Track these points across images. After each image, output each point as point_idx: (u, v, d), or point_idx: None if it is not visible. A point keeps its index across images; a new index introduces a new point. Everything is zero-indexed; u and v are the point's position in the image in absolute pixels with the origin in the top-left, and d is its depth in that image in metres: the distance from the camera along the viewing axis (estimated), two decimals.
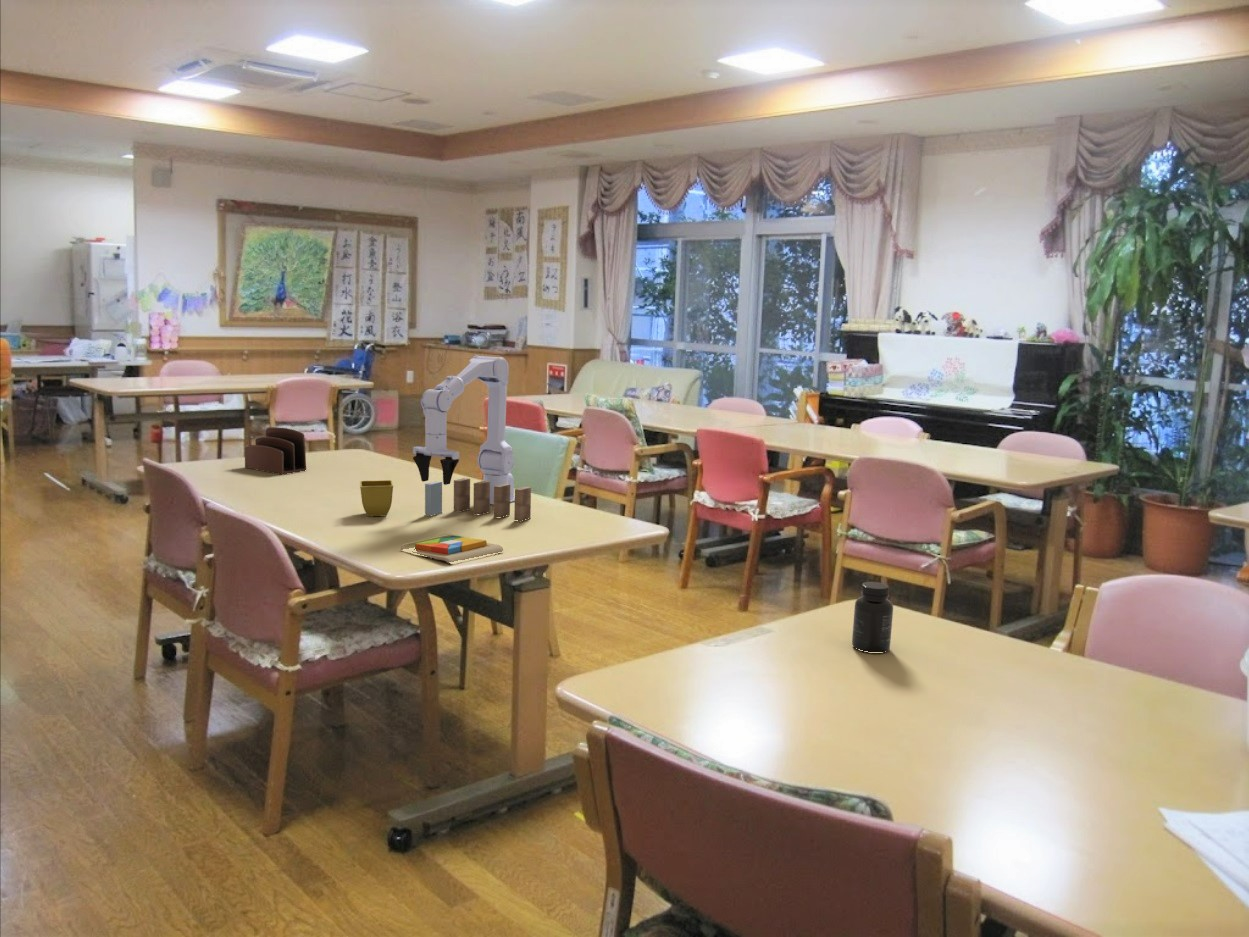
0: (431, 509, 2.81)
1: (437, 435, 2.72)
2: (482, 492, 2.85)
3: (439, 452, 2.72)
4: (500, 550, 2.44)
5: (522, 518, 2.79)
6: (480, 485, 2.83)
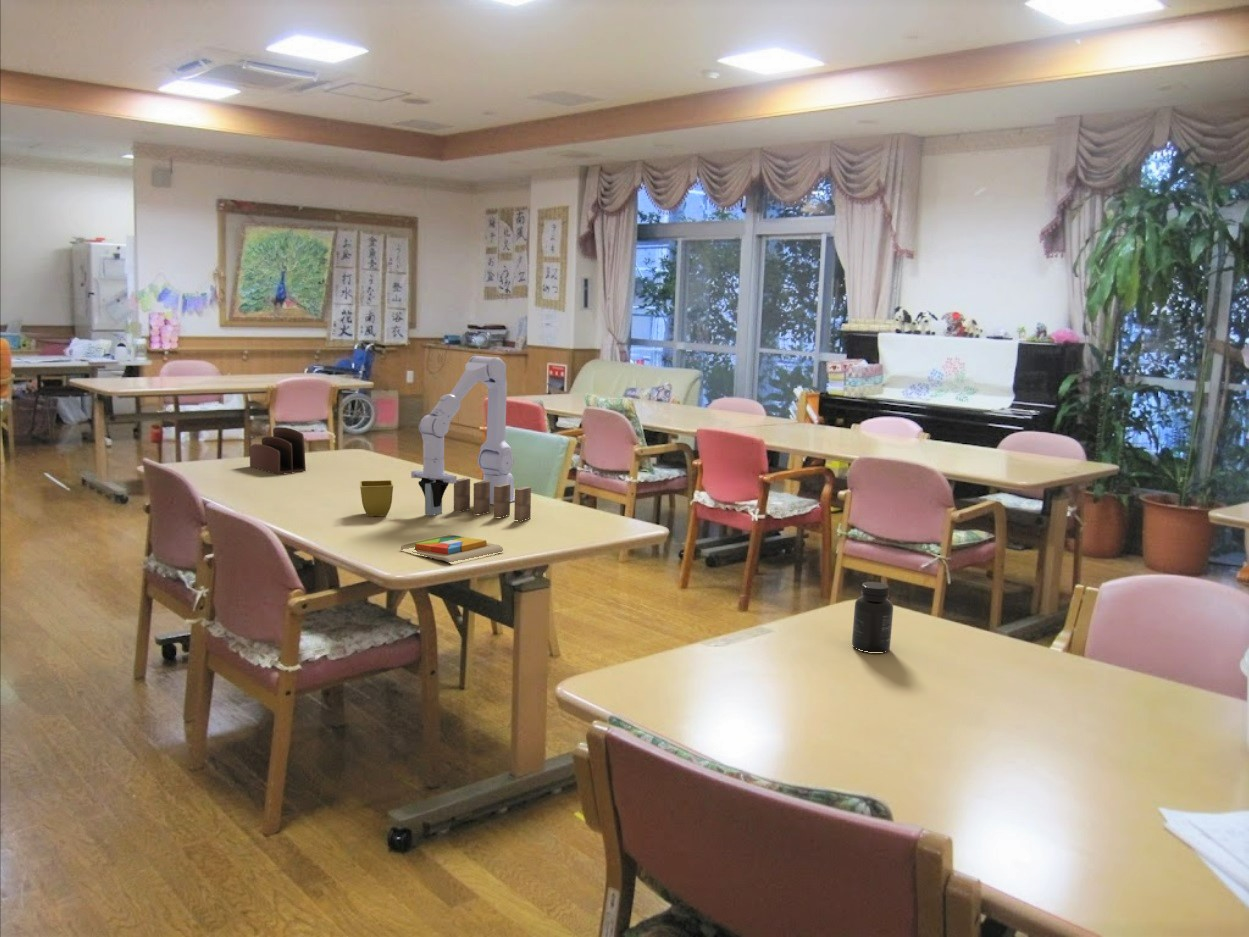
0: (431, 509, 2.81)
1: (435, 460, 2.79)
2: (482, 492, 2.85)
3: (437, 476, 2.79)
4: (500, 550, 2.44)
5: (522, 518, 2.79)
6: (480, 485, 2.83)
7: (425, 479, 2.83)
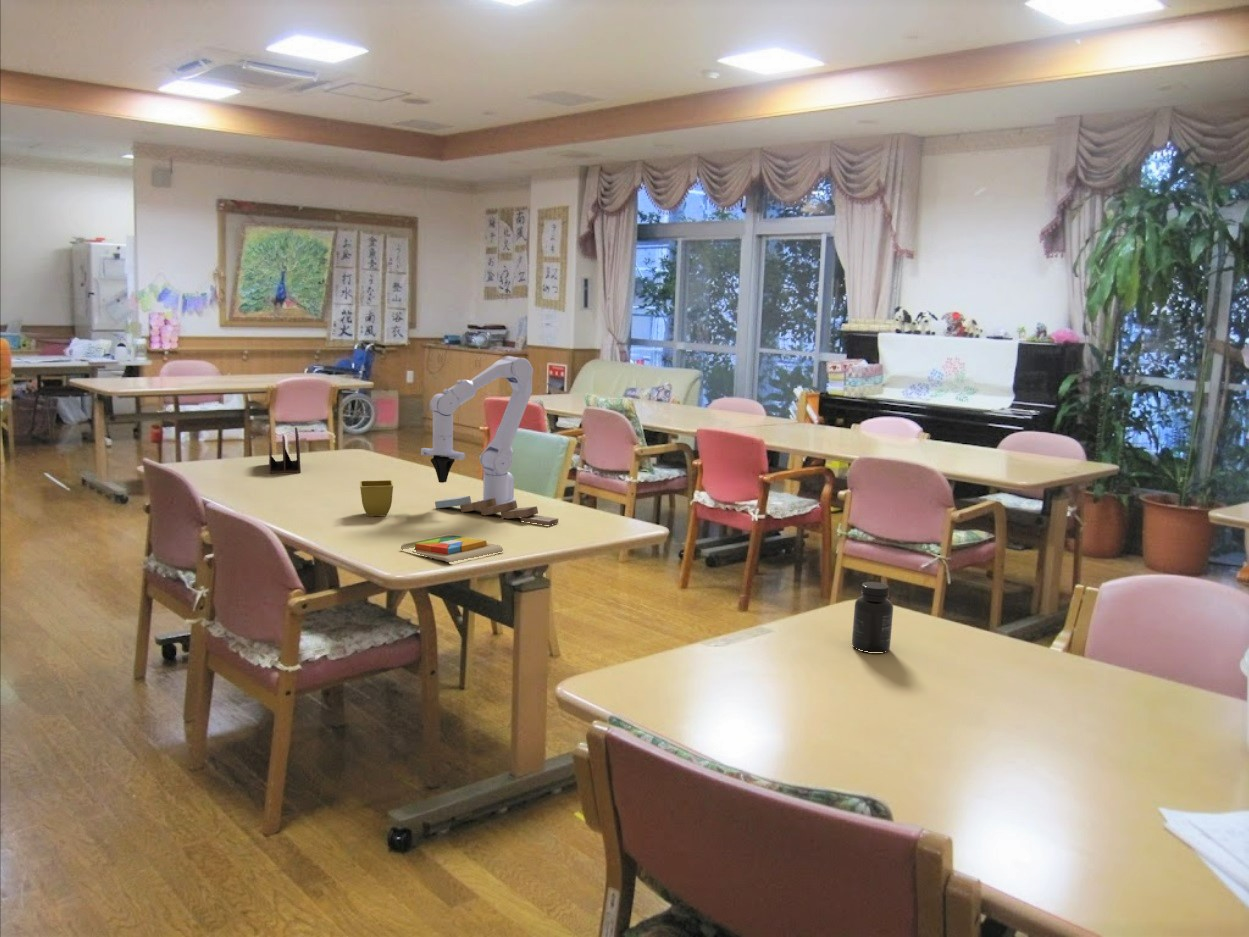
0: (441, 507, 2.91)
1: (444, 437, 2.87)
2: None
3: (446, 453, 2.88)
4: (500, 550, 2.44)
5: None
6: (507, 510, 2.80)
7: (434, 456, 2.91)
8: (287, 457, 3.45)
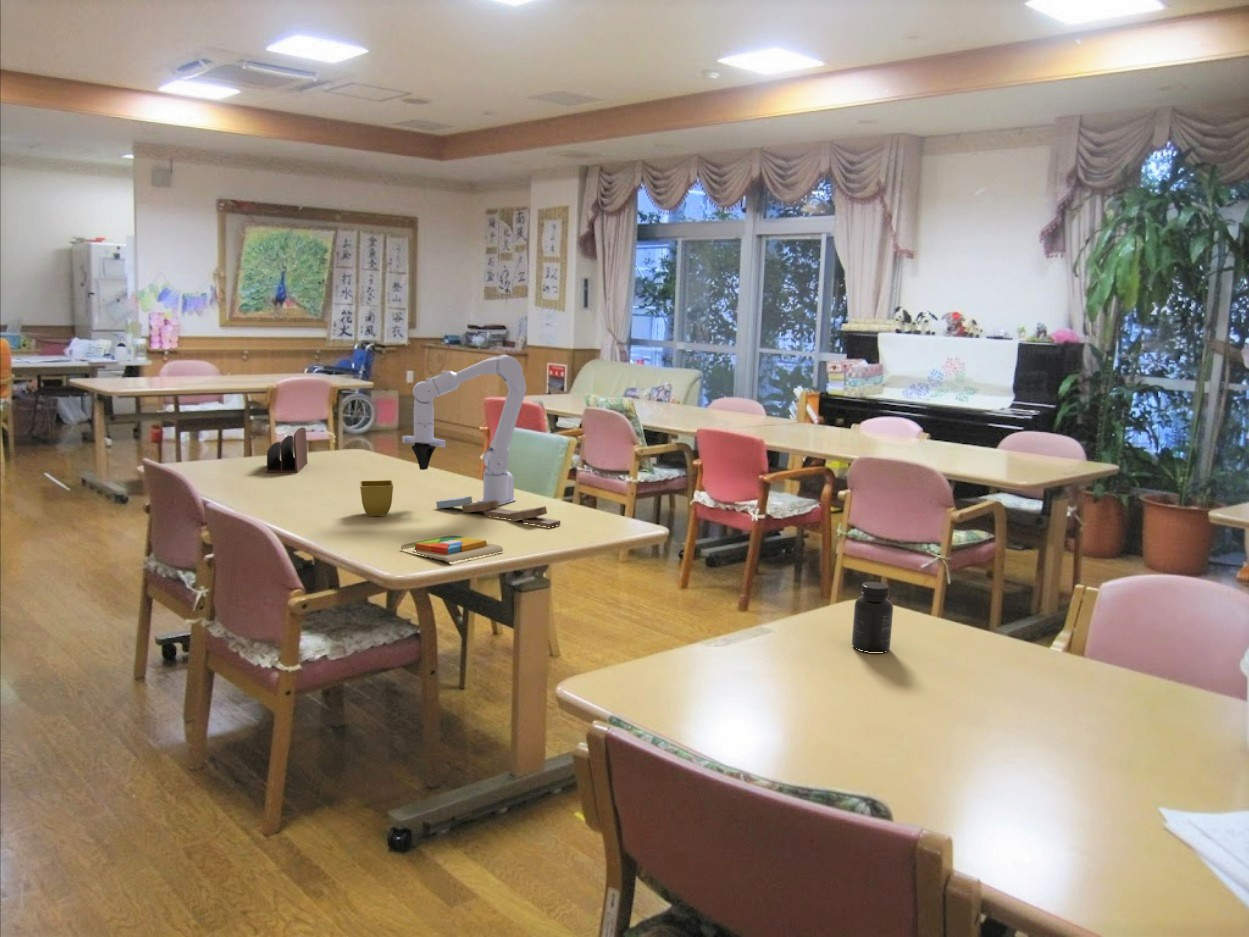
0: (442, 507, 2.91)
1: (425, 424, 2.90)
2: None
3: (426, 440, 2.90)
4: (500, 550, 2.44)
5: None
6: None
7: (415, 443, 2.94)
8: (290, 457, 3.45)
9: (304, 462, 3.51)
